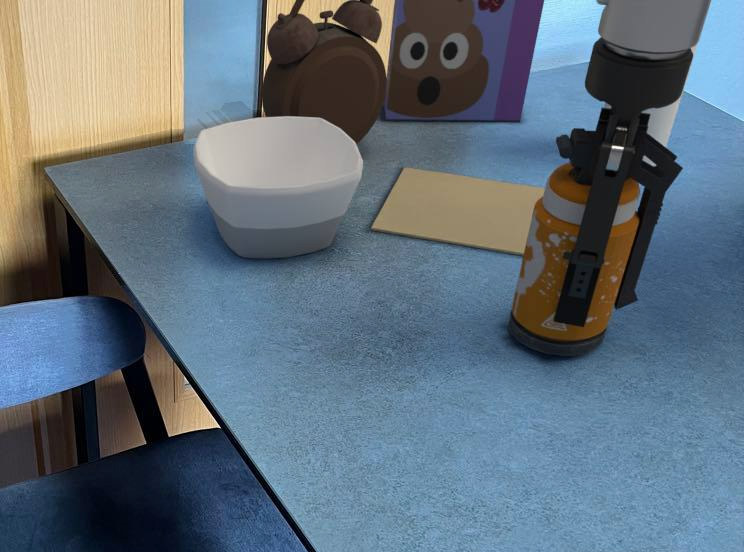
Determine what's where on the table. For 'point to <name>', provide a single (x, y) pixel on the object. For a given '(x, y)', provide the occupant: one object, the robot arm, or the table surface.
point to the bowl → (277, 183)
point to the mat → (459, 210)
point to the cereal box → (460, 59)
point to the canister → (559, 233)
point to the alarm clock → (327, 68)
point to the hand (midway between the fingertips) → (575, 295)
